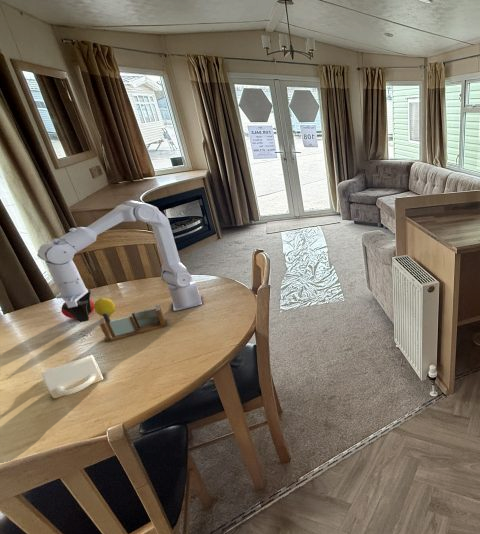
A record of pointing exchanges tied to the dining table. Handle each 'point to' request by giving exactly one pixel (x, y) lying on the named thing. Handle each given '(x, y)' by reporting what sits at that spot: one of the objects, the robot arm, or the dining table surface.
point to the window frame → (139, 323)
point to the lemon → (104, 306)
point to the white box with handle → (72, 376)
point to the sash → (120, 325)
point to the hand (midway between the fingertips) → (85, 316)
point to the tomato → (72, 315)
